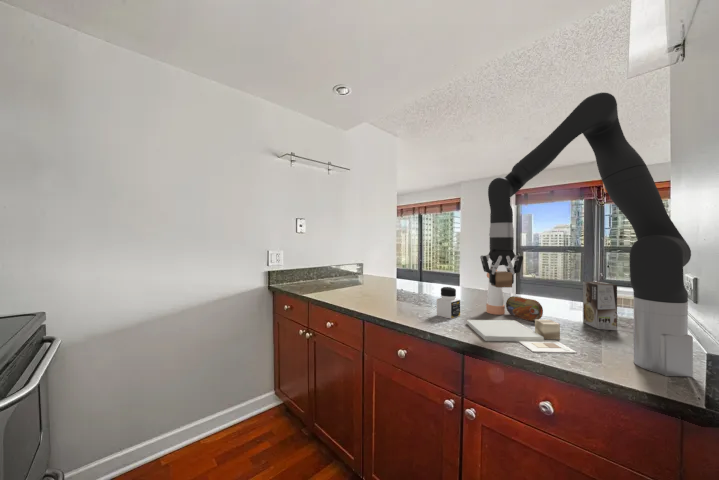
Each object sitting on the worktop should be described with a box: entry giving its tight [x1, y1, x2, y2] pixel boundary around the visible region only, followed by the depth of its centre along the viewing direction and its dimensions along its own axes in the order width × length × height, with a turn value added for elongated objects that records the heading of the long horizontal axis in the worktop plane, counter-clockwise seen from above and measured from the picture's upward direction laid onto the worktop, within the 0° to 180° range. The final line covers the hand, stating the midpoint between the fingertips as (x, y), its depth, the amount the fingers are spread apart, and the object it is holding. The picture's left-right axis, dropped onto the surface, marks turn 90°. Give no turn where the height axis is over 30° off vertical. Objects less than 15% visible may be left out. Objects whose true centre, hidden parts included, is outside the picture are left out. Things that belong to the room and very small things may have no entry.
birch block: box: [534, 319, 561, 340], centre depth 92 cm, size 5×5×5 cm
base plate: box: [466, 319, 545, 342], centre depth 97 cm, size 18×18×2 cm
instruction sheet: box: [517, 339, 578, 354], centre depth 84 cm, size 9×12×1 cm
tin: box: [505, 296, 544, 322], centre depth 114 cm, size 15×3×8 cm, turn 21°
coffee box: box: [582, 280, 618, 331], centre depth 103 cm, size 9×6×16 cm
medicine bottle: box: [436, 286, 461, 320], centre depth 118 cm, size 7×7×12 cm
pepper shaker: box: [485, 269, 506, 316], centre depth 122 cm, size 7×7×19 cm
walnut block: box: [492, 270, 513, 288], centre depth 97 cm, size 5×5×5 cm
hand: (501, 284), depth 97 cm, fingers closed on walnut block, 5 cm apart
